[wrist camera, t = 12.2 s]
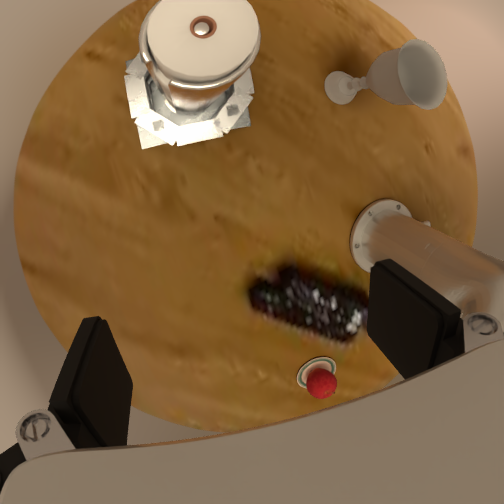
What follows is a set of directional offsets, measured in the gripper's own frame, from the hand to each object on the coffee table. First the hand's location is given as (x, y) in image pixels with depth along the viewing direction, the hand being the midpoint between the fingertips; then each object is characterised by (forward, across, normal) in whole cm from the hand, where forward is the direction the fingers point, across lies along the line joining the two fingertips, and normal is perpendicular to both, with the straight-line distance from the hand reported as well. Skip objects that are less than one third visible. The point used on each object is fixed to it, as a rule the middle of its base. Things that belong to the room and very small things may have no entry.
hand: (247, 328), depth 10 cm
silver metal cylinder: (+32, 0, -12) cm, 34 cm away
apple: (+34, -15, +38) cm, 53 cm away
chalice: (+34, -21, -11) cm, 41 cm away
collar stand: (+33, 0, -12) cm, 35 cm away
